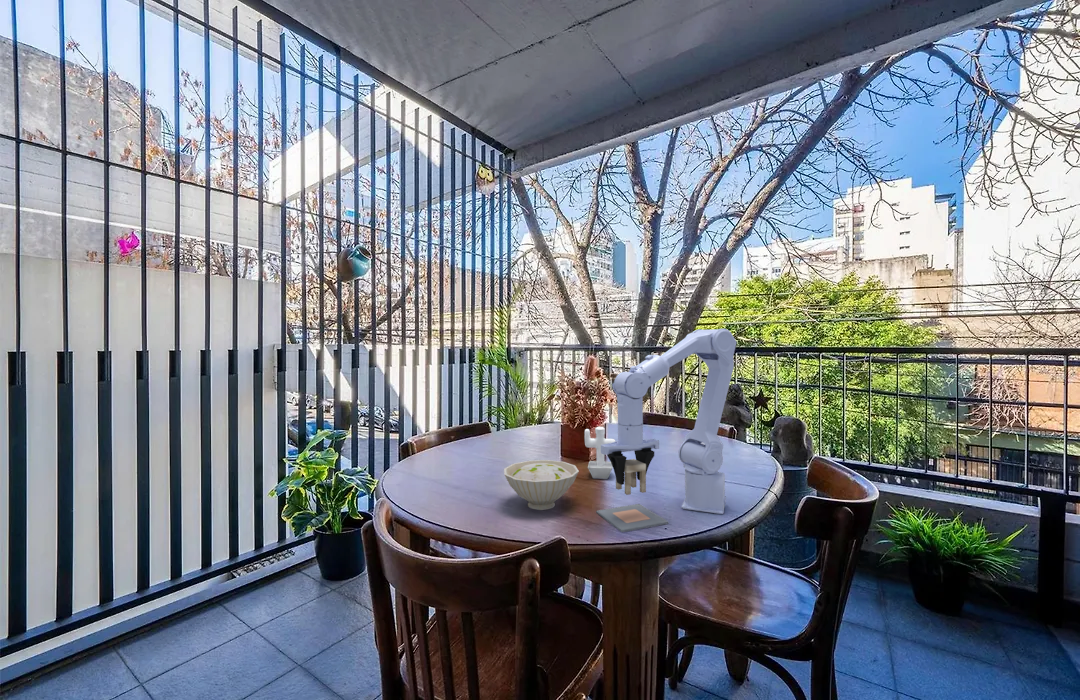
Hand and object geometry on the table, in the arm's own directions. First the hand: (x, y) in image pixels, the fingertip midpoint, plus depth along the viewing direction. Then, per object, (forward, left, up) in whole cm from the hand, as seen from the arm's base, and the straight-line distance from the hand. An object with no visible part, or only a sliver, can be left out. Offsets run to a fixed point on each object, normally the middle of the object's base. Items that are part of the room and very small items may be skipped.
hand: (630, 481), depth 107 cm
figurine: (+16, -28, -9) cm, 33 cm away
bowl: (+23, 0, -9) cm, 25 cm away
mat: (0, 0, -8) cm, 8 cm away
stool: (0, 0, -2) cm, 2 cm away
